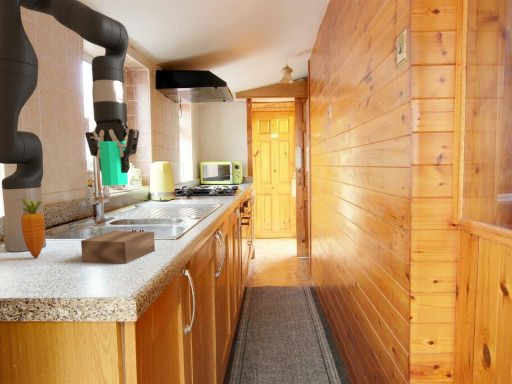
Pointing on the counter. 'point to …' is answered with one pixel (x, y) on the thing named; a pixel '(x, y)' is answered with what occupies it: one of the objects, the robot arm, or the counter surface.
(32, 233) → the carrot
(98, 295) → the counter surface
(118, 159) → the candle
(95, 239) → the walnut stand
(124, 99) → the robot arm
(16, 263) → the counter surface
